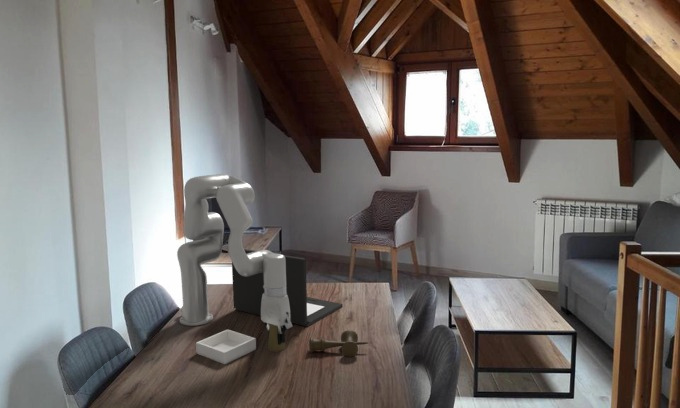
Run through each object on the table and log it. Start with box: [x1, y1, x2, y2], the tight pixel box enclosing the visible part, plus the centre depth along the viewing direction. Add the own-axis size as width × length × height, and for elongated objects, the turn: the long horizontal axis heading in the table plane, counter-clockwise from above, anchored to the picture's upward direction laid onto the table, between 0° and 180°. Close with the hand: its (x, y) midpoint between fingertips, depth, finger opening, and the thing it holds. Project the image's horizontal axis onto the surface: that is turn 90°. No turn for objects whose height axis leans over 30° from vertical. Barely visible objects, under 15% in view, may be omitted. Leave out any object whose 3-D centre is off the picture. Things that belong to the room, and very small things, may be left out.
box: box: [195, 329, 257, 365], centre depth 180 cm, size 14×14×4 cm
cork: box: [267, 324, 286, 352], centre depth 182 cm, size 6×6×11 cm
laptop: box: [231, 248, 343, 327], centre depth 219 cm, size 37×27×27 cm
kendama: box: [308, 329, 369, 358], centre depth 179 cm, size 6×10×20 cm
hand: (277, 341), depth 182 cm, fingers closed on cork, 3 cm apart
